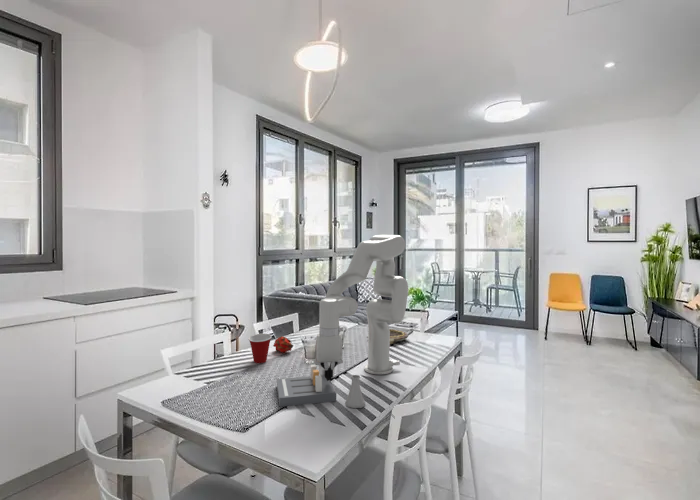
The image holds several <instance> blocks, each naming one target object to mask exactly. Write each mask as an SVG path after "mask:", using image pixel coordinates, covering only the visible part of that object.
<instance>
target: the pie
mask: <svg viewBox="0 0 700 500" xmlns="http://www.w3.org/2000/svg"><path fill="white" fill-rule="evenodd" d="M389 330H390V345H392V344H397V343H401V342H404V341H406V339H407V338H408V337H409V334H408V333H407V332H406V331H404V330H398V329H397V330H396V329H394V328H393V329H390V328H389ZM366 337H367V338H368V335H367V336H366ZM367 342H368V339H367Z"/></svg>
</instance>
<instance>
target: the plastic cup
mask: <svg viewBox="0 0 700 500" xmlns="http://www.w3.org/2000/svg"><path fill="white" fill-rule="evenodd" d="M272 336H273V335H272V334H269V333H256V334H252V335H250V336H249V337H248V341H249V344H250V348H251V353H252V359H253V363H254V364H265V363H266V362H267V361H268V355H269V350H270V344H271V339H272V338H273V337H272Z"/></svg>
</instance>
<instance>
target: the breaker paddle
mask: <svg viewBox="0 0 700 500" xmlns="http://www.w3.org/2000/svg"><path fill="white" fill-rule="evenodd" d="M315 376H319V369H316V370H313V385H314V386H315Z"/></svg>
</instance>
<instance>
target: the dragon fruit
mask: <svg viewBox="0 0 700 500" xmlns="http://www.w3.org/2000/svg"><path fill="white" fill-rule="evenodd" d="M272 346H273V347H274V348H275V351H276V353H279V352H281V354H283V355H284V354H285V355H286V354H287V352H291V350H292V349H293V347H294V344H293V343H292V341H291V340H290V339H289V338H288V337H286V336H278V337H277V338H276V339H275V340H274V343H273V344H272ZM292 351H293V350H292Z"/></svg>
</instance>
